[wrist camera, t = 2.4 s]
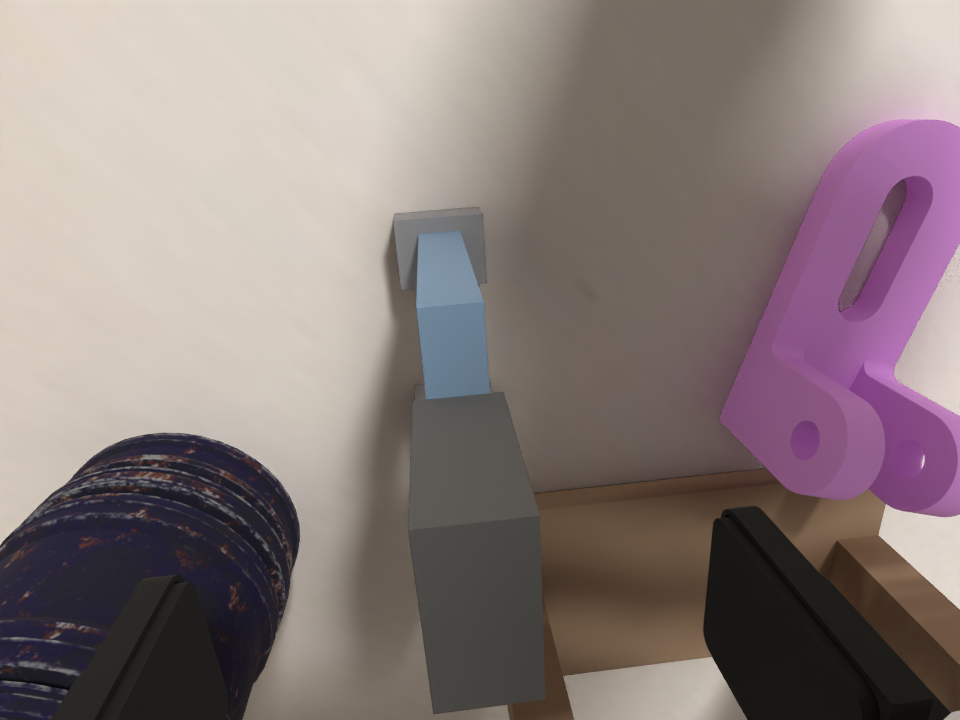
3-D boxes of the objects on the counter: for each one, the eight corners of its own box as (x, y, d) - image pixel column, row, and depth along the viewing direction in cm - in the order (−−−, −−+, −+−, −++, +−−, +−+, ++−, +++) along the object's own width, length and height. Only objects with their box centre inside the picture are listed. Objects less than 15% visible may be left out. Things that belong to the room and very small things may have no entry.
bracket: (827, 438, 27) (956, 539, 20) (717, 418, 26) (814, 517, 19) (978, 140, 22) (1205, 149, 16) (851, 102, 21) (1036, 96, 15)
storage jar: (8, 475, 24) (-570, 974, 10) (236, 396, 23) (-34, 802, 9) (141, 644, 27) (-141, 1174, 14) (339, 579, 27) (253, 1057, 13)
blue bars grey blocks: (394, 213, 21) (349, 375, 8) (478, 206, 21) (571, 354, 8) (421, 437, 25) (420, 810, 11) (492, 430, 25) (573, 789, 12)
